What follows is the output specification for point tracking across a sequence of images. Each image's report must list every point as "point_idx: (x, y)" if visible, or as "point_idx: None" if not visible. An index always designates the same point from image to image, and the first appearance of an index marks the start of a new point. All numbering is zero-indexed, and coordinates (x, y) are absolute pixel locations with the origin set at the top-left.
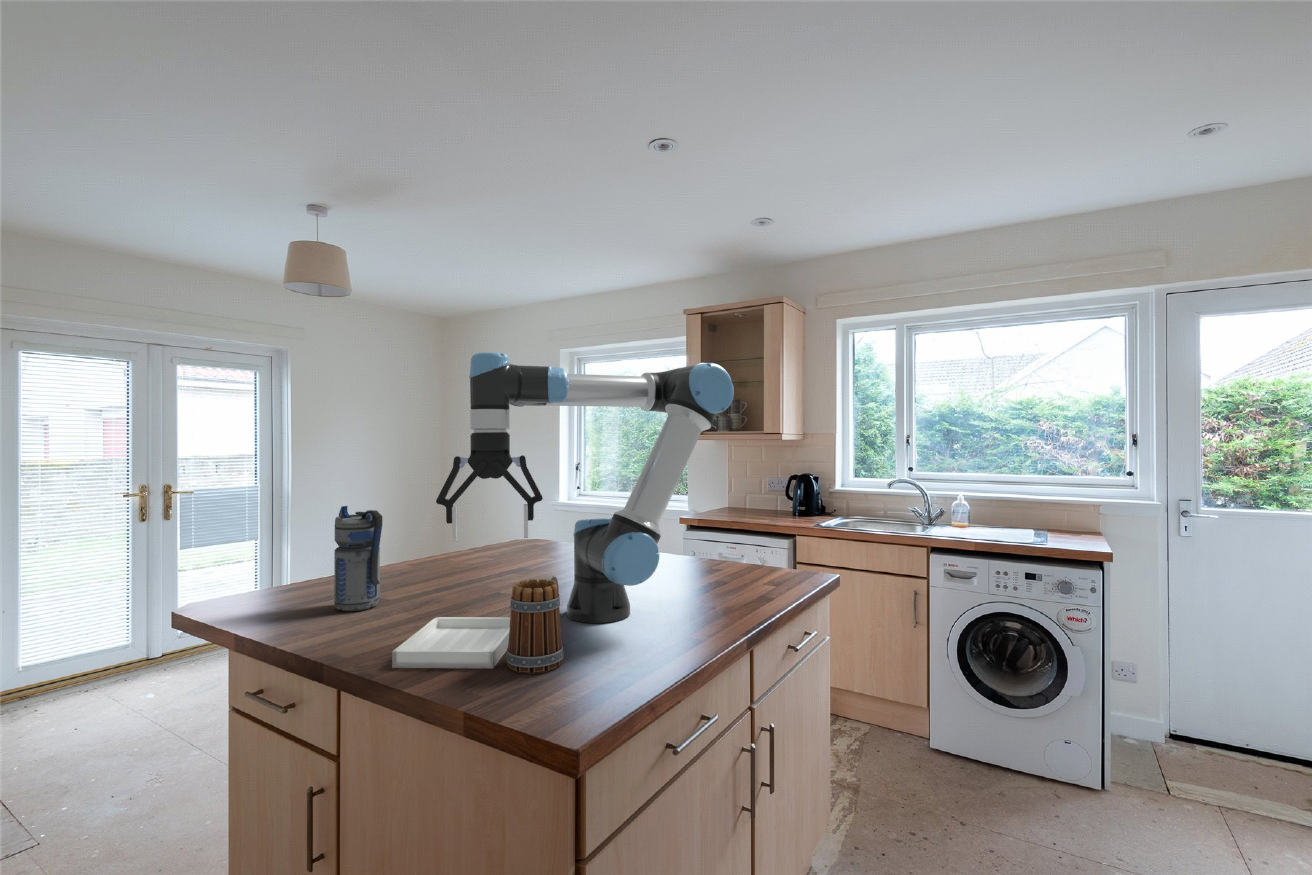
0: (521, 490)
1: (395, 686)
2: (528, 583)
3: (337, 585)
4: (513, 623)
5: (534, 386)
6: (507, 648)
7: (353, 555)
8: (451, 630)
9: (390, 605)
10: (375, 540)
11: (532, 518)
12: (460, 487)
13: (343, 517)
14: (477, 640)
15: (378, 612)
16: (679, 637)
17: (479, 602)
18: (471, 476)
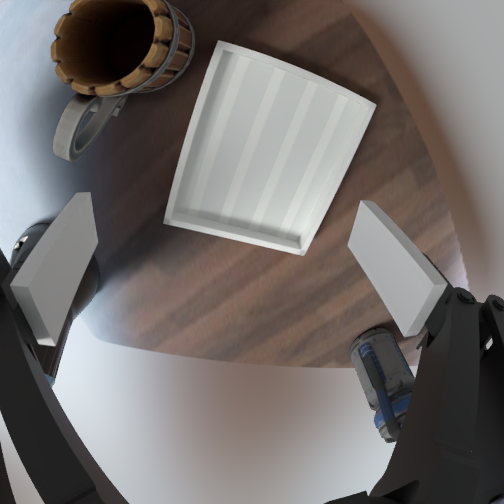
0: (5, 376)
1: (359, 29)
2: (119, 80)
3: (400, 352)
4: (177, 15)
5: None
6: (191, 50)
7: (403, 379)
8: (278, 222)
9: (337, 344)
10: (387, 402)
11: (28, 251)
12: (475, 379)
13: None
14: (239, 160)
15: (354, 323)
16: None
17: (231, 344)
18: (468, 467)
